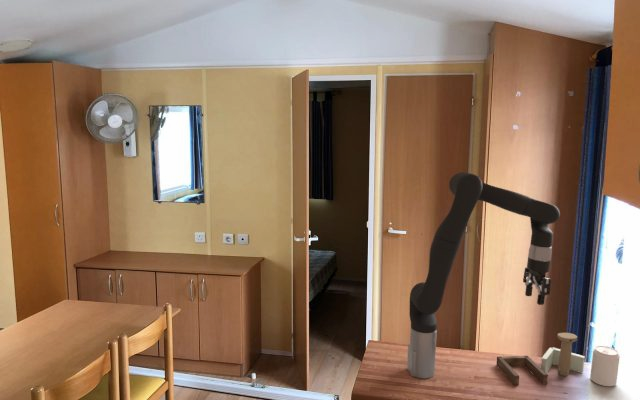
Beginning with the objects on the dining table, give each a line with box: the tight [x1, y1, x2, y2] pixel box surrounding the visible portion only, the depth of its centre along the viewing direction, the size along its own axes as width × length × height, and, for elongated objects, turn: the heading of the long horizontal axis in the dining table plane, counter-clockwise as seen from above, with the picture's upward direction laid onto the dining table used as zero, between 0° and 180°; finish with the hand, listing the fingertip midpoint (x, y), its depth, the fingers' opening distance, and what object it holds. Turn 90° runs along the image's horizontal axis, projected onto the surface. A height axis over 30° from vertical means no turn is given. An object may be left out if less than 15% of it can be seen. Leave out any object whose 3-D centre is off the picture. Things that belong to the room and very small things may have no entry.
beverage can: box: [589, 345, 621, 387], centre depth 172 cm, size 8×8×12 cm
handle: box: [557, 332, 578, 377], centre depth 177 cm, size 5×6×15 cm
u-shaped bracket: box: [496, 355, 549, 386], centre depth 177 cm, size 12×14×4 cm
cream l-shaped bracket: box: [540, 346, 586, 374], centre depth 182 cm, size 17×9×6 cm, turn 95°
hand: (534, 300), depth 178 cm, fingers open, 8 cm apart
